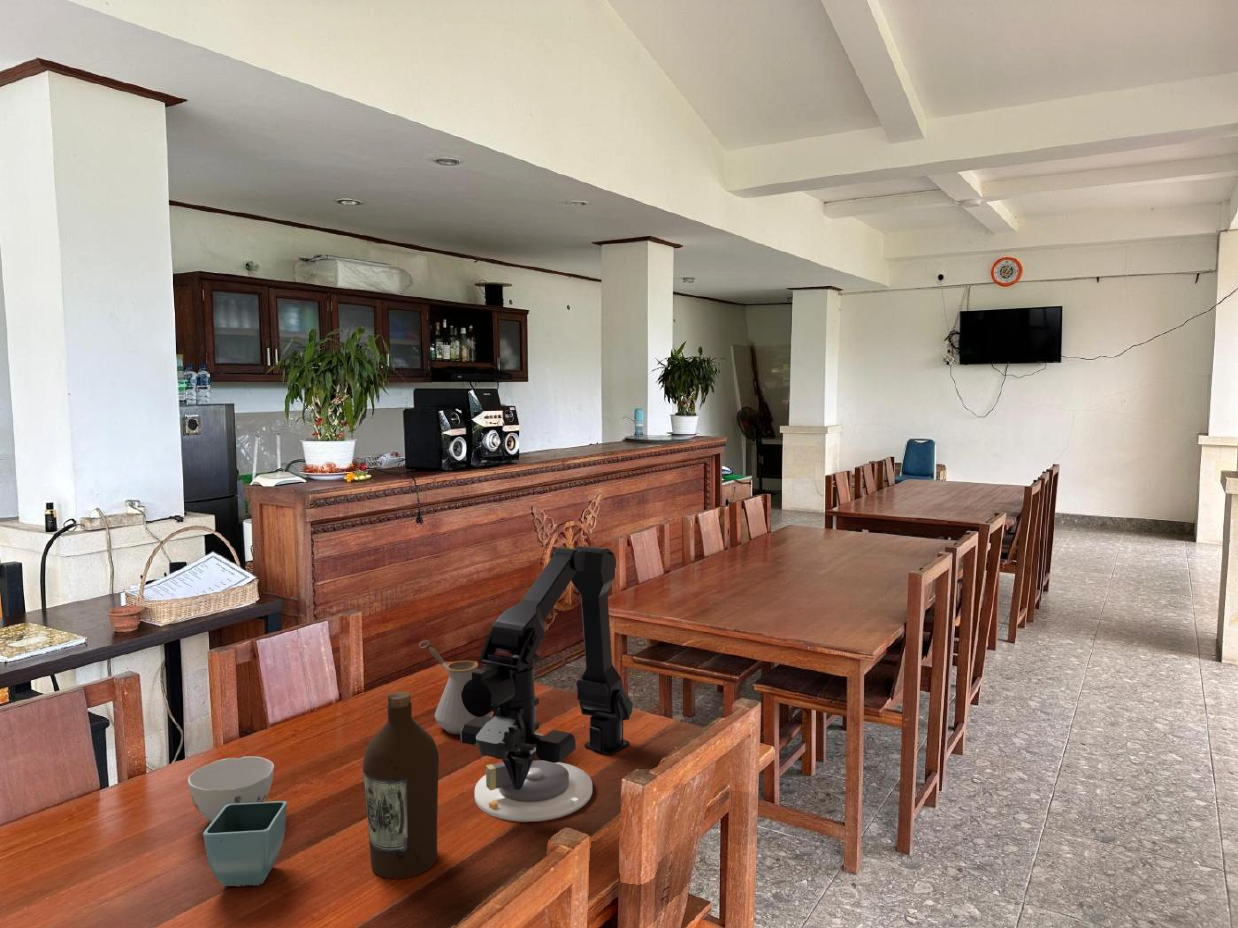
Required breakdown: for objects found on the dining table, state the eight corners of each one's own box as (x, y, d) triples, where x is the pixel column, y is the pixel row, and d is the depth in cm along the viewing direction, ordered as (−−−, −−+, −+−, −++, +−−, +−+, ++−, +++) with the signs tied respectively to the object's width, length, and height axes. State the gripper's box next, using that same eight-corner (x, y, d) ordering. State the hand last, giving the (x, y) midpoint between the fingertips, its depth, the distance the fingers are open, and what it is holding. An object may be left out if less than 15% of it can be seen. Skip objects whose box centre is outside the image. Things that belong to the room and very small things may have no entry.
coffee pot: (503, 727, 172) (501, 655, 171) (454, 743, 165) (452, 668, 163) (447, 699, 188) (445, 633, 187) (400, 713, 180) (398, 644, 179)
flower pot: (228, 861, 124) (225, 802, 123) (290, 858, 125) (288, 799, 124) (204, 897, 115) (201, 834, 114) (271, 893, 116) (268, 830, 115)
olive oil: (396, 836, 130) (391, 678, 128) (455, 849, 127) (451, 687, 124) (350, 873, 121) (344, 703, 118) (413, 888, 117) (408, 713, 115)
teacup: (286, 821, 135) (284, 773, 135) (201, 848, 127) (198, 797, 127) (258, 787, 147) (255, 742, 146) (178, 810, 139) (176, 763, 138)
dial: (549, 762, 153) (548, 735, 152) (581, 789, 142) (581, 760, 142) (474, 782, 145) (474, 754, 145) (503, 812, 135) (502, 781, 135)
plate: (533, 756, 159) (533, 746, 158) (616, 786, 146) (616, 776, 146) (449, 796, 143) (449, 786, 143) (534, 834, 131) (534, 823, 130)
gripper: (438, 702, 133) (440, 798, 134) (539, 722, 124) (541, 824, 126) (480, 680, 143) (482, 769, 144) (576, 697, 134) (577, 792, 136)
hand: (518, 788), depth 137 cm, fingers closed
